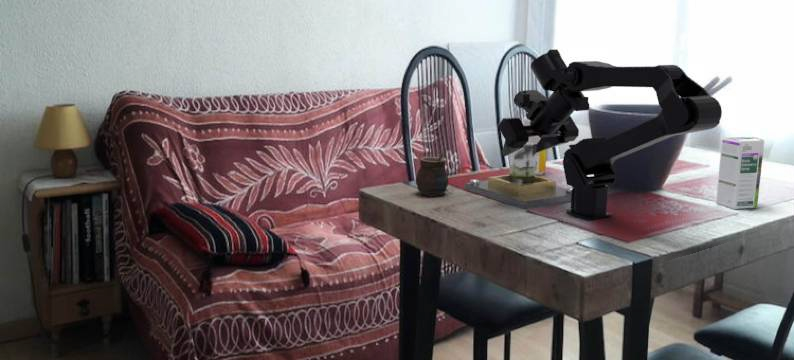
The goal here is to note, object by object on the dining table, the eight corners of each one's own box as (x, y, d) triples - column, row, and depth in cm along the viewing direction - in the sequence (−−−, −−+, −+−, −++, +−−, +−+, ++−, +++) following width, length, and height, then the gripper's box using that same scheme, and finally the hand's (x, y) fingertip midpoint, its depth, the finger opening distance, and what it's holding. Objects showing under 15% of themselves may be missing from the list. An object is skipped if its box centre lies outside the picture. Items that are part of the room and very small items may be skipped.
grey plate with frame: (580, 199, 149) (581, 183, 149) (523, 208, 141) (524, 192, 140) (518, 182, 166) (519, 167, 165) (465, 189, 158) (465, 174, 157)
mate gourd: (430, 188, 159) (432, 145, 156) (455, 194, 153) (457, 150, 151) (408, 193, 154) (410, 149, 151) (433, 200, 148) (435, 154, 146)
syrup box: (734, 210, 142) (742, 140, 139) (714, 203, 147) (721, 135, 144) (757, 208, 143) (766, 139, 140) (736, 201, 149) (744, 135, 146)
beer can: (543, 171, 179) (547, 113, 176) (546, 176, 173) (549, 116, 170) (520, 170, 179) (522, 113, 176) (521, 175, 173) (524, 116, 170)
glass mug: (539, 189, 152) (542, 144, 150) (520, 191, 150) (522, 146, 147) (514, 181, 160) (516, 138, 157) (495, 184, 157) (496, 140, 155)
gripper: (572, 76, 149) (535, 121, 161) (505, 79, 140) (471, 126, 151) (597, 117, 144) (557, 160, 156) (530, 122, 135) (492, 168, 147)
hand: (519, 152), depth 153 cm, fingers open, 9 cm apart
